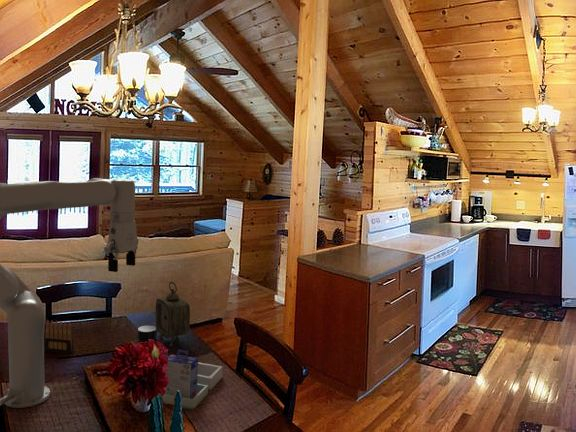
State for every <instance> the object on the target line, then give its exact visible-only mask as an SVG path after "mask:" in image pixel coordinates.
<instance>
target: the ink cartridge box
mask: <svg viewBox="0 0 576 432" xmlns="http://www.w3.org/2000/svg"><path fill="white" fill-rule="evenodd" d="M180 353H184V354H185V355H184V354H180ZM188 355H189V350H185V349H179V348H178V350H177V353H176V354H170V355H168V356H167V357H168V371H167V375H168V379H169V384H168V387H167V388H166V392H165V394H169V395H174V396H175V393H176V391H177V390H180V392H181V395H182V397H184V398H189V399H193V398H194V397H195V396H196V395H197V378H198V375H199V374H198V362H199V357H192V356H188Z"/></svg>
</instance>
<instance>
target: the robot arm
mask: <svg viewBox="0 0 576 432" xmlns="http://www.w3.org/2000/svg"><path fill="white" fill-rule="evenodd" d="M135 191H136V183H135V182H134V180H132V179H128V178H127V179H126V178H118V179H117V178H115V179H106V178H99V177H93V178H90V179H88V180H87V181H80V182H79V181H78V182H63V181H62V182H61V181H55V180H43V181H33V182H32V181H31V182H19V183H5V182H0V220H1V219H2V218H3V217H4V216H6V215H8V214H9V215H10V214H19V213H28V212H36V211H37V212H38V211H46V210H61V209H62V210H63V209H71V208H74V209H75V208H87V207H88V208H89V207H95V206H103V205H108V204H110V205H109V206H110V214H109V215H110V222H109V229H108V238H107V241H108V242H107V244H106V246H104V248H103V251H104V253H105V256H106V260H107V264H108V265H107V266H108V267H107V269H108V272H111V273H117V272H118V271H119V259H118V257H119V255H120V254H126V255H125V257H126V258H125V262H126V263H125V264H126V265H127V266H132V267H133V266H136V254H137V249H138V247H139V246H138V245H139V243H140V242H139V241H140V240H139V239H138V230H137V222H136V220H135V218H136V217H135V216H136V215H135V211H136V210H135V209H136V192H135ZM0 309H1V310H2V311H3V312H4V313H5V314H6V318H7V325H8V333H7V335H8V336H7V338H8V339H7V341H8V342H7V344H8V345H7V346H8V347H7V348H8V349H7V351H8V382H9V383H8V385H9V388H7V389H6V393H5V395H4V396H2V397H0V407H1V406H2V405H5V406H7V407H8V408H13V409H25V408H29V407H34V406H37V405H40V404H42V403H43V402H45V401H46V400H48V399H49V398H50V397H51V389H50V388H49V387H48V386H45V384H46V383H45V382H46V381H45V350H44V349H45V327H46V325H45V323H46V315H45V309H44V307H43V305H42V303H41V301H40V300H39V298H38V296H37V295H36V294H35V293H34V292H33V291H32V290H31V289H30V288H29V286H28V285H26V284H25V282H24V281H23V280H22V279H21V278H20V277H19V276H18V275H17V274H16V273H15V272H14V271H13V269H11V268H9V267H8V266H4V265H2V264H1V263H0Z"/></svg>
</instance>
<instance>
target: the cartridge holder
mask: <svg viewBox="0 0 576 432" xmlns="http://www.w3.org/2000/svg"><path fill="white" fill-rule="evenodd" d="M223 368H224V367H223V365H222V366H221V365H218V364H217V365H216V364H210V363H206V362H205V363H203V362H199V361H198V378H197V383H198V384H203V385H208V391H209V390H210V391H211V390H213V388H214V387H215V386H216V384H218V383H219V382H220V381H221V379H222V378H223V372H224V371H223Z"/></svg>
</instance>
